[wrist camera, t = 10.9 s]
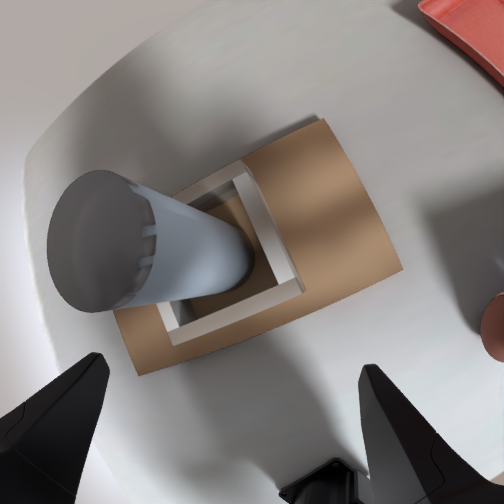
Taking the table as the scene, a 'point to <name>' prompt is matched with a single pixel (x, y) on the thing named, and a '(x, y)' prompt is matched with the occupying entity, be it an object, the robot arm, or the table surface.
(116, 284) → the blue-grey cylinder
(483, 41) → the plant saucer
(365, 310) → the table surface
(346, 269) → the jig
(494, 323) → the figurine character
